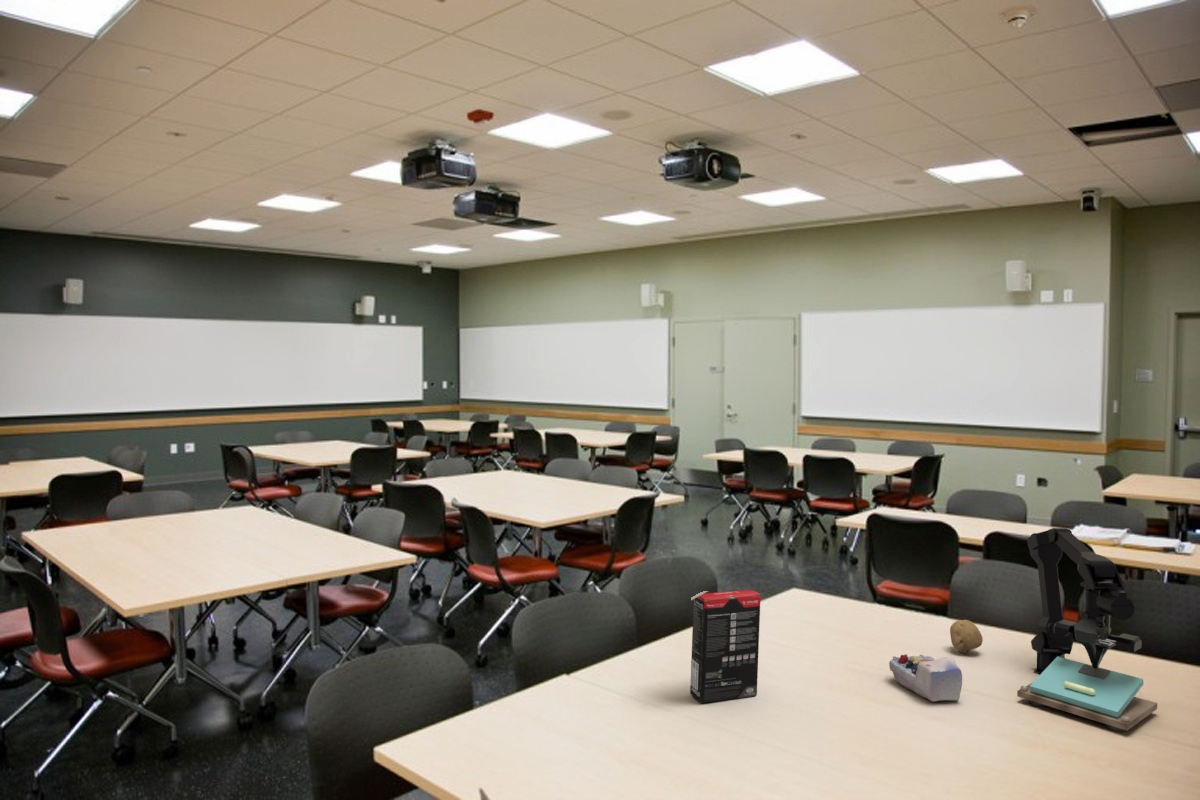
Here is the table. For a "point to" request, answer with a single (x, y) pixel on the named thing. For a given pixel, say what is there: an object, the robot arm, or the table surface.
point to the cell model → (928, 676)
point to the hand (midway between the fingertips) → (1095, 668)
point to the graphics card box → (725, 645)
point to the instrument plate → (1087, 686)
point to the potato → (965, 636)
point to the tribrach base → (1126, 720)
